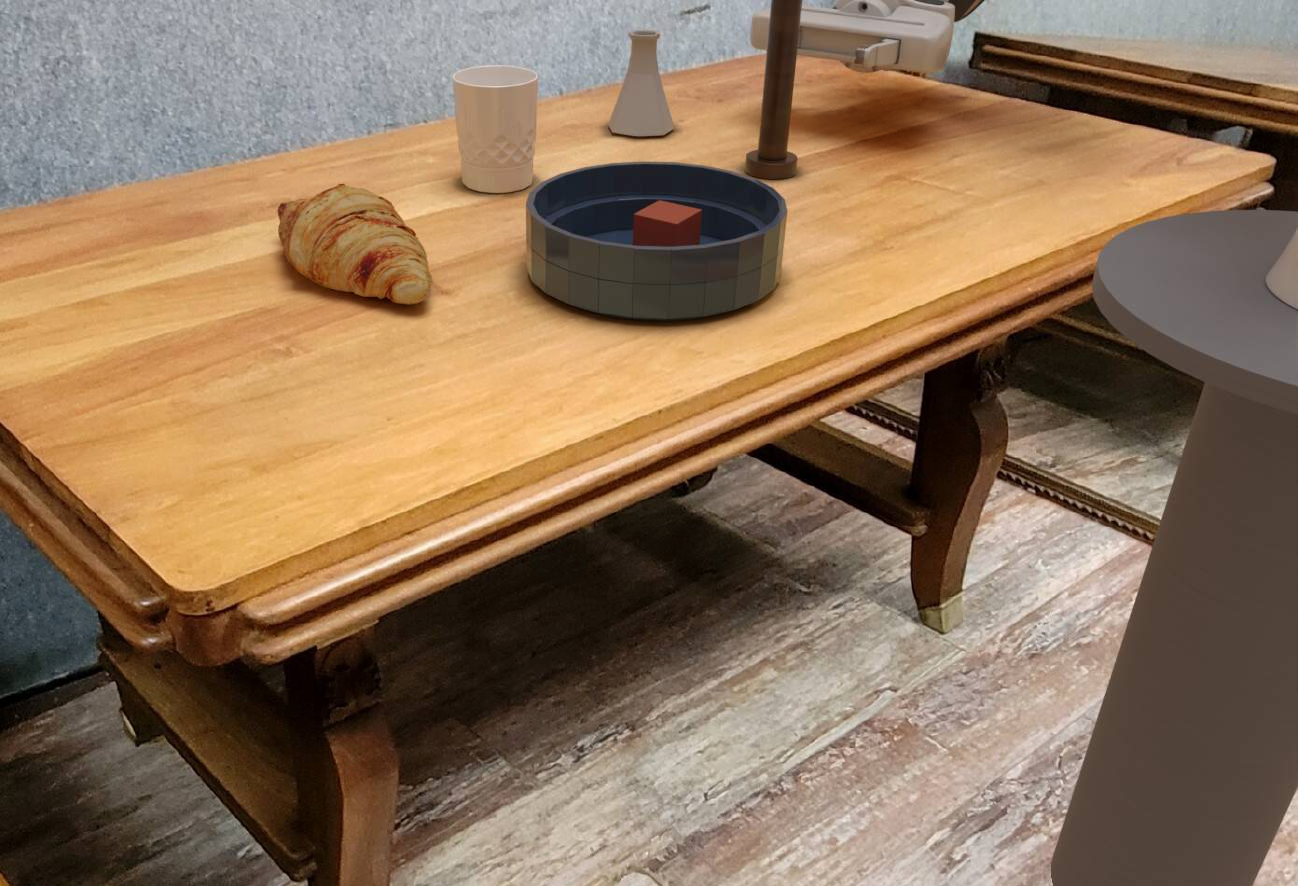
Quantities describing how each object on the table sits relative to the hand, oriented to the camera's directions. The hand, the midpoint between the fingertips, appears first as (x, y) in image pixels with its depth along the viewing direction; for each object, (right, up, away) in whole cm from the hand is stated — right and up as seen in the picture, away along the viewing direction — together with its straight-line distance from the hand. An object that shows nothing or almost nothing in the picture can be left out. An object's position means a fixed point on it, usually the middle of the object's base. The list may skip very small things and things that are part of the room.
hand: (816, 51), depth 122 cm
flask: (-16, -4, +12) cm, 21 cm away
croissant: (-42, -26, -21) cm, 54 cm away
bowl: (-18, -26, -22) cm, 38 cm away
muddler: (-4, -12, 0) cm, 13 cm away
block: (-17, -25, -21) cm, 36 cm away
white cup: (-31, -14, -2) cm, 34 cm away
